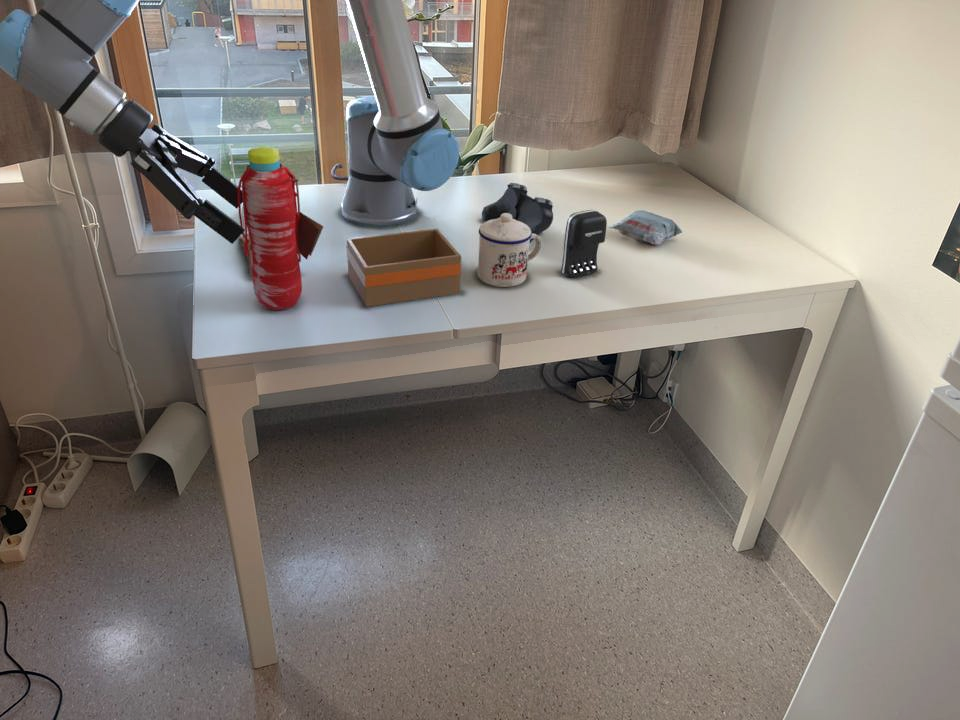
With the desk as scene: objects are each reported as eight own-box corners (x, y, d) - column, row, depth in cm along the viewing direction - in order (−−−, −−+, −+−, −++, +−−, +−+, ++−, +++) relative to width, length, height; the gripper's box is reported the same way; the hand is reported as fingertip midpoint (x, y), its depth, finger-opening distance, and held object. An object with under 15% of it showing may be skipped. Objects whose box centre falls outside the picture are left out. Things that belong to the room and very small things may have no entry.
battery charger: (571, 281, 133) (579, 220, 126) (559, 272, 135) (566, 212, 129) (602, 274, 136) (611, 214, 130) (589, 265, 138) (598, 207, 132)
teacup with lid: (491, 292, 127) (495, 228, 121) (467, 270, 134) (470, 208, 128) (550, 280, 132) (558, 218, 126) (525, 259, 139) (530, 200, 133)
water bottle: (314, 282, 127) (303, 135, 114) (332, 303, 121) (322, 150, 108) (243, 297, 122) (222, 144, 108) (259, 319, 116) (239, 161, 102)
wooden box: (347, 276, 130) (345, 238, 126) (436, 264, 136) (437, 228, 132) (365, 307, 121) (364, 268, 117) (459, 293, 126) (461, 256, 123)
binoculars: (544, 256, 147) (569, 210, 144) (520, 247, 142) (545, 199, 140) (499, 226, 158) (521, 183, 156) (476, 217, 154) (498, 172, 151)
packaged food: (659, 254, 144) (664, 230, 142) (607, 235, 151) (611, 212, 148) (681, 242, 150) (686, 218, 147) (630, 225, 156) (634, 202, 154)
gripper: (111, 112, 112) (228, 205, 123) (74, 167, 92) (218, 271, 103) (142, 76, 110) (258, 173, 122) (111, 123, 90) (254, 234, 101)
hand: (240, 218), depth 112 cm, fingers open, 13 cm apart
